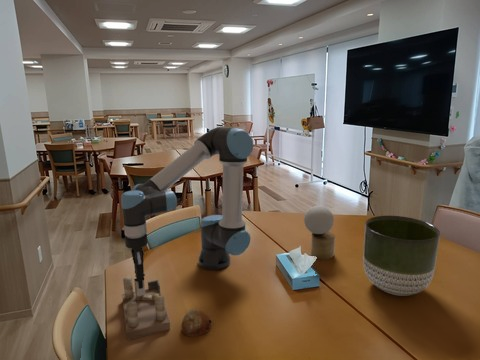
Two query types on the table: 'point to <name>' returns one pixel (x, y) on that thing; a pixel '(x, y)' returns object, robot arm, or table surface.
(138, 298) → the hinged leg
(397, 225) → the planter
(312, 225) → the lamp
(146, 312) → the peg board
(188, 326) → the bread roll
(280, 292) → the table surface
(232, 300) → the table surface
